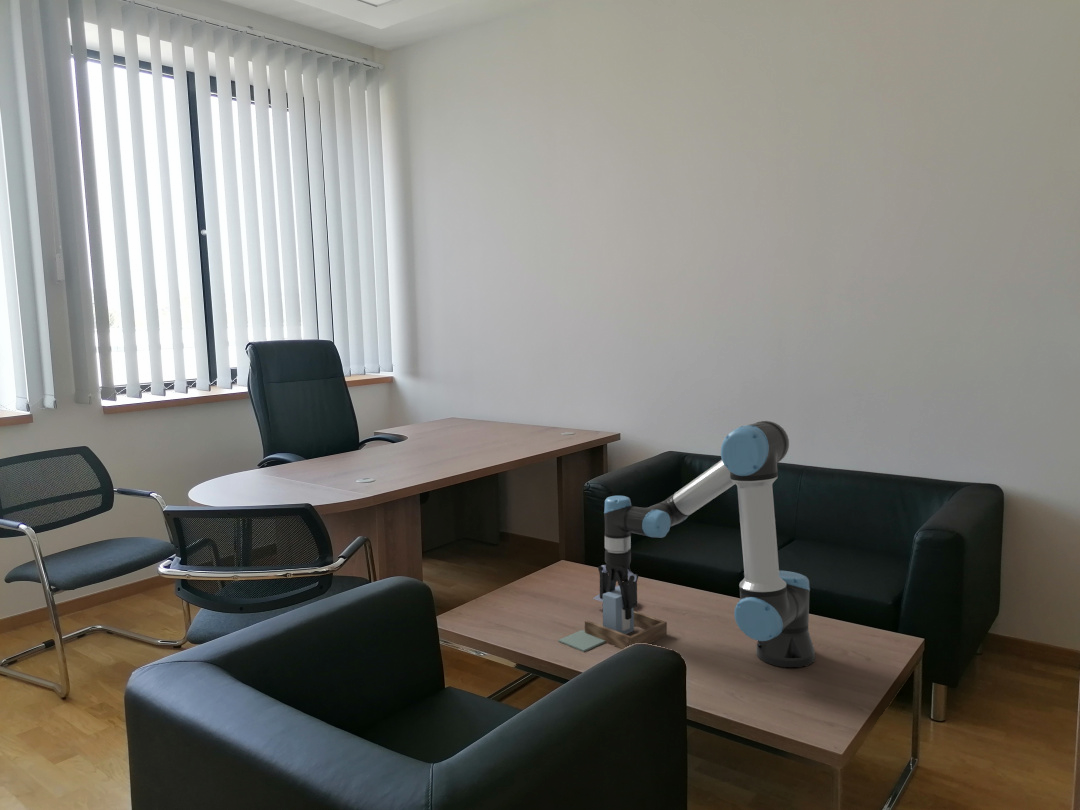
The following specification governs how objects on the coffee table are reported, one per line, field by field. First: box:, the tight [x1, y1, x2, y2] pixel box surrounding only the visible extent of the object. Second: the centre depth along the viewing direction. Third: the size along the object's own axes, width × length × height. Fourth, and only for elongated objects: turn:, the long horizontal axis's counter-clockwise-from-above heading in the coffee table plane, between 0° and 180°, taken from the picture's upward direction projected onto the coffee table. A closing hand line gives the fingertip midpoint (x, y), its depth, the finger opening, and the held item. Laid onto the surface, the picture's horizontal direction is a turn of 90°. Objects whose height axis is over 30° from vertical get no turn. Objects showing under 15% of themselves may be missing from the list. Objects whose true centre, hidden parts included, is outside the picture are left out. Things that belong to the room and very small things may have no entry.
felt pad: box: [557, 629, 606, 653], centre depth 226 cm, size 10×10×1 cm
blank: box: [602, 588, 635, 635], centre depth 231 cm, size 5×8×12 cm, turn 134°
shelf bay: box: [584, 610, 668, 650], centre depth 230 cm, size 18×16×4 cm
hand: (618, 626), depth 232 cm, fingers closed on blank, 5 cm apart
